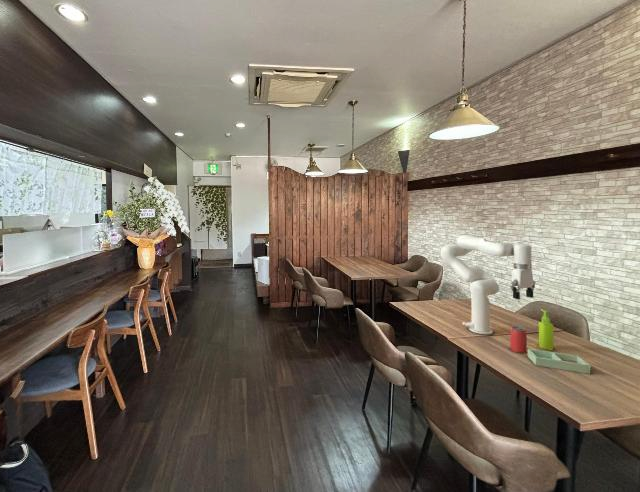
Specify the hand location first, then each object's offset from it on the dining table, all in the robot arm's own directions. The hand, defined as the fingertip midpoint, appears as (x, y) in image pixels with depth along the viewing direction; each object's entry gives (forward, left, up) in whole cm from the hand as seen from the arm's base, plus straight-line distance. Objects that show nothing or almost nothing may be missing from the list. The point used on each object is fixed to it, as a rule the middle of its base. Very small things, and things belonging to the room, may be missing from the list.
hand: (523, 298), depth 157 cm
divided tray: (+8, -17, -27) cm, 33 cm away
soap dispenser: (+11, +4, -27) cm, 29 cm away
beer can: (-4, -7, -27) cm, 28 cm away
